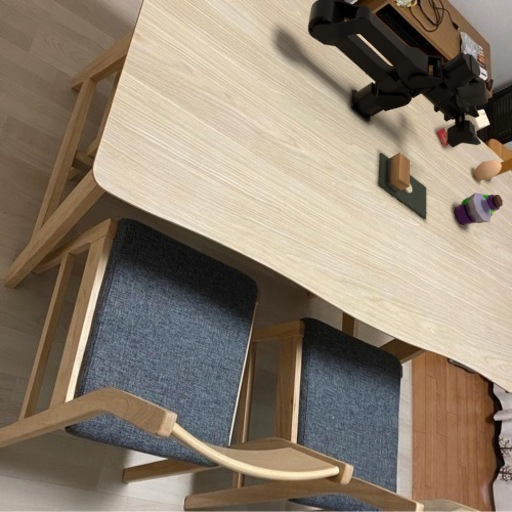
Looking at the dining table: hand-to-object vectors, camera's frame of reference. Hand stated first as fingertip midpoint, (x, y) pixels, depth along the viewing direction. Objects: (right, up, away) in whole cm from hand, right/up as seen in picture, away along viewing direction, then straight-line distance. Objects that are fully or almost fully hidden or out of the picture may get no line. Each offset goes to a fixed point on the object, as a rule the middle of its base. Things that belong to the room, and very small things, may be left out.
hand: (478, 130), depth 143 cm
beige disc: (-18, -15, 0) cm, 23 cm away
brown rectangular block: (-23, -12, -3) cm, 26 cm away
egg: (+10, -7, +30) cm, 32 cm away
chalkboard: (-19, -14, 0) cm, 24 cm away
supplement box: (+15, -6, +35) cm, 38 cm away
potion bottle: (+1, -21, +15) cm, 26 cm away
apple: (+9, -18, +24) cm, 31 cm away
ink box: (0, +3, +25) cm, 25 cm away
